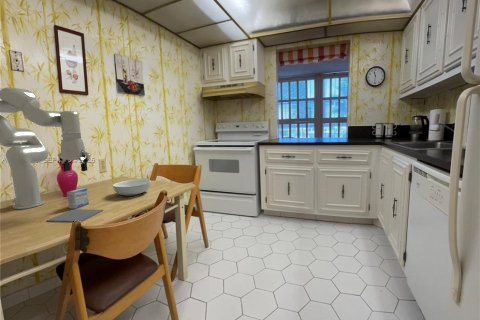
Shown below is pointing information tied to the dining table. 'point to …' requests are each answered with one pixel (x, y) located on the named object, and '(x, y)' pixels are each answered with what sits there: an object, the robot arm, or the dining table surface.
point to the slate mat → (74, 215)
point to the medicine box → (77, 198)
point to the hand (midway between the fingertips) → (75, 170)
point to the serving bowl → (131, 187)
